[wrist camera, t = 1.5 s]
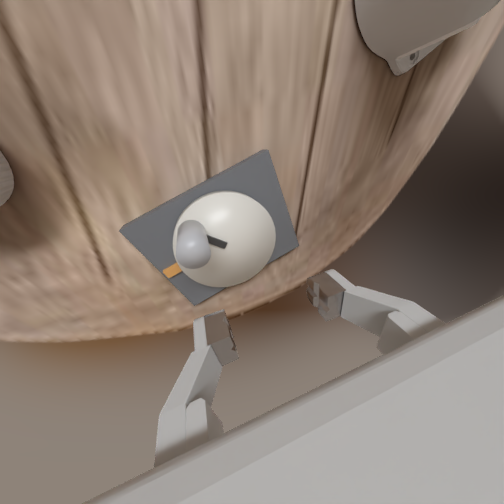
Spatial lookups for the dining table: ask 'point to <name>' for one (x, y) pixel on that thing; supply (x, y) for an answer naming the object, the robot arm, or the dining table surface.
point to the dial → (223, 239)
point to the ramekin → (5, 180)
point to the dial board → (232, 179)
